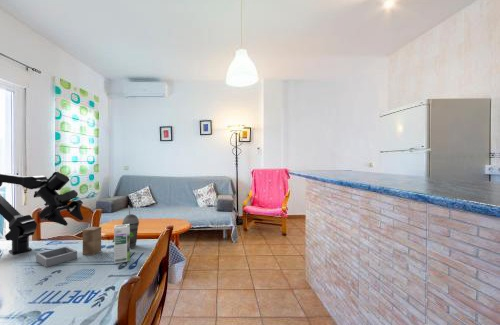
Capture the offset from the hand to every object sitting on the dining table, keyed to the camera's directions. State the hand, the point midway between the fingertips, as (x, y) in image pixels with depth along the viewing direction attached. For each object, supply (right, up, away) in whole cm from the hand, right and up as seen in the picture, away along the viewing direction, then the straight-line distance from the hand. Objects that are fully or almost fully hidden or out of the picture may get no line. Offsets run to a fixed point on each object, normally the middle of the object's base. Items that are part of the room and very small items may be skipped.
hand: (75, 222), depth 110 cm
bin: (-2, -14, -8) cm, 16 cm away
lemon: (+21, -14, 0) cm, 26 cm away
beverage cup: (+21, -14, +8) cm, 27 cm away
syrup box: (+25, -14, -8) cm, 30 cm away
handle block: (+8, -14, 0) cm, 16 cm away
